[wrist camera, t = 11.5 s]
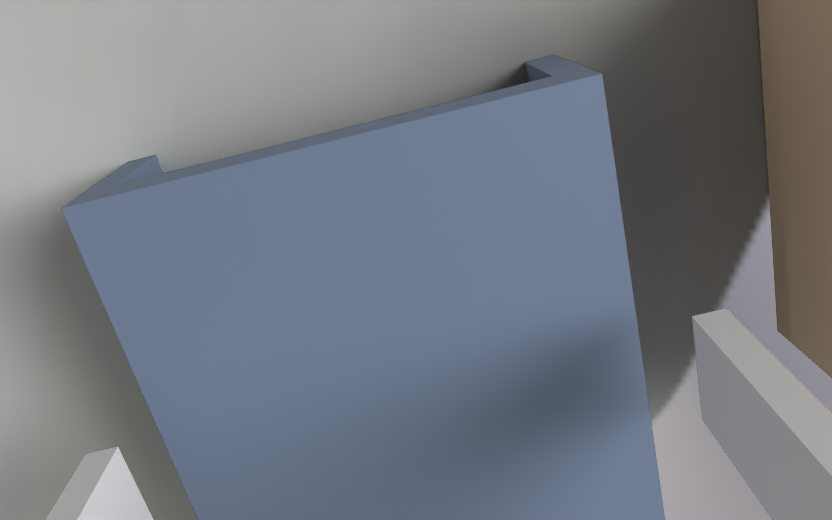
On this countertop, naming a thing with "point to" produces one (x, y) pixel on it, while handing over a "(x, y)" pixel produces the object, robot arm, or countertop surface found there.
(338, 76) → the countertop surface
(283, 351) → the lid
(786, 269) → the tray
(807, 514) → the robot arm
